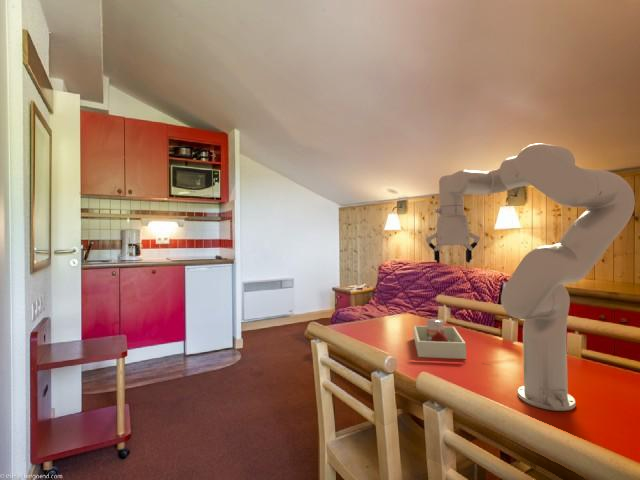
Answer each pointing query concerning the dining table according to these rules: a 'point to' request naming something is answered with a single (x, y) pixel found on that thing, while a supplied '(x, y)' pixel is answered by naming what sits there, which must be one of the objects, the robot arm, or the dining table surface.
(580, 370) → the dining table surface
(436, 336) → the onion
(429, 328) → the glass jar
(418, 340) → the tote
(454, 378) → the dining table surface
